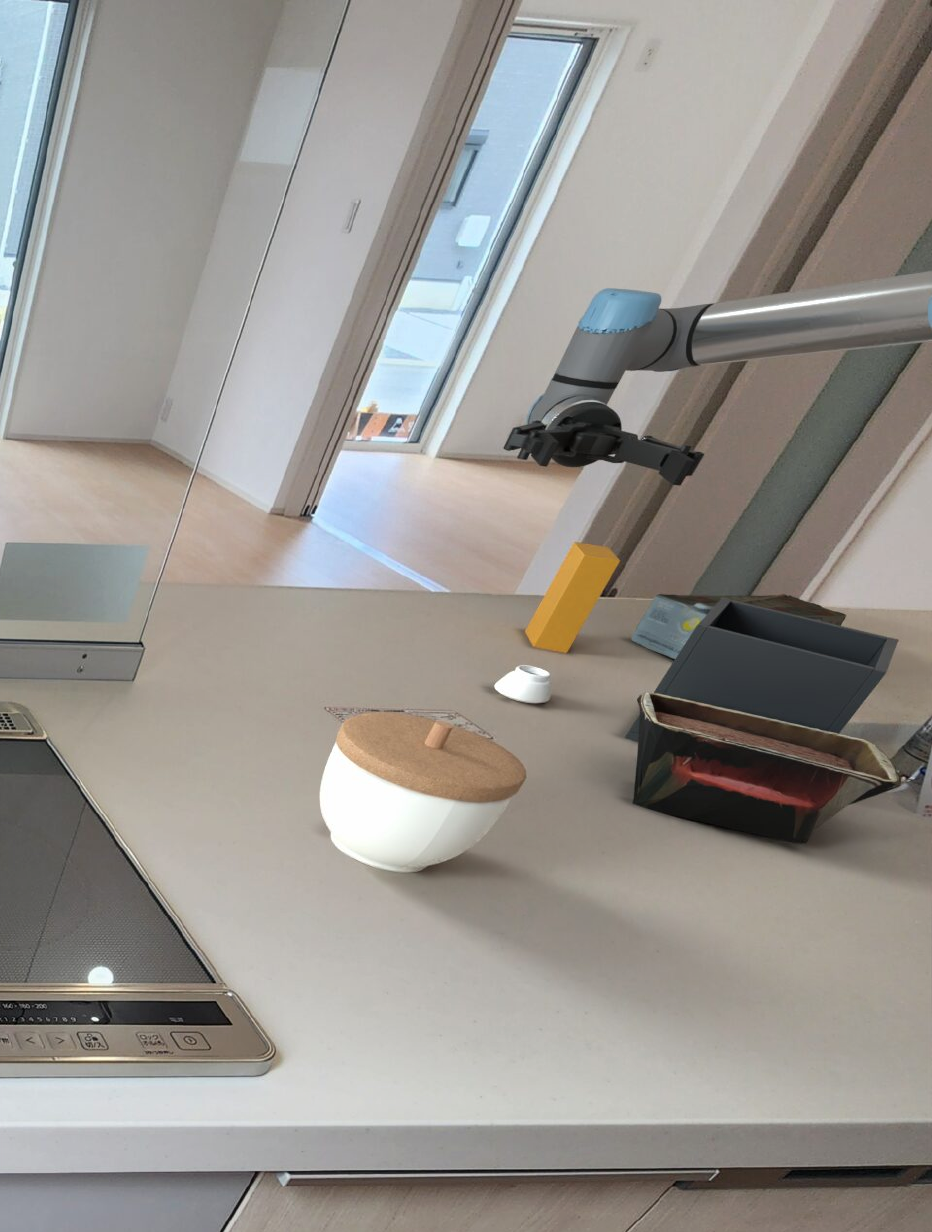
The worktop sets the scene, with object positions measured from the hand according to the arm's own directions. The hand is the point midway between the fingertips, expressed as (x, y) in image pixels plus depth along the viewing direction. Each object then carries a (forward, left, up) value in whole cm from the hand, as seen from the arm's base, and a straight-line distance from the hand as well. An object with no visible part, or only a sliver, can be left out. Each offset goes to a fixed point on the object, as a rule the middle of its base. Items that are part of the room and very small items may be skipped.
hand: (615, 463), depth 125 cm
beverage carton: (-19, -7, -19) cm, 28 cm away
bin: (-24, +28, -19) cm, 41 cm away
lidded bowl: (-9, +80, -19) cm, 83 cm away
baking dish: (-26, +45, -19) cm, 55 cm away
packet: (-4, +9, -19) cm, 21 cm away
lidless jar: (-7, +32, -19) cm, 38 cm away
